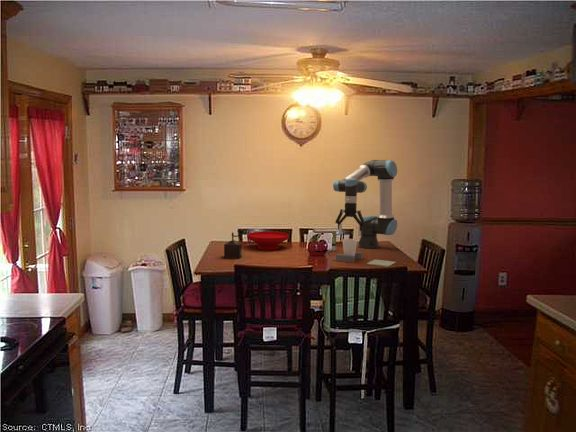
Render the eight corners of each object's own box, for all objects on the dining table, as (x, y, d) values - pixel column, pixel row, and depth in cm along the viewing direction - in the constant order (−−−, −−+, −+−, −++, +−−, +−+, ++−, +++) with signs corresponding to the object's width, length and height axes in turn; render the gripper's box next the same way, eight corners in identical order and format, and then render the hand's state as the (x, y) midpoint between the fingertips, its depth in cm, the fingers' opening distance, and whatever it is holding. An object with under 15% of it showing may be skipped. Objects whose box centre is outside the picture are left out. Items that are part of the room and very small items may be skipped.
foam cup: (355, 258, 347) (356, 238, 345) (357, 261, 337) (358, 241, 336) (341, 258, 346) (341, 238, 345) (343, 261, 337) (343, 241, 336)
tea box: (316, 251, 369) (316, 231, 367) (311, 249, 379) (312, 229, 377) (336, 250, 373) (336, 230, 371) (331, 248, 383) (331, 228, 381)
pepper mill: (240, 259, 341) (240, 231, 339) (223, 258, 342) (223, 231, 340) (244, 254, 356) (244, 228, 354) (227, 254, 357) (227, 228, 355)
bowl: (249, 244, 398) (249, 231, 397) (289, 244, 397) (289, 231, 396) (244, 251, 368) (244, 237, 367) (288, 252, 367) (288, 238, 366)
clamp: (343, 256, 353) (343, 250, 352) (362, 258, 346) (362, 252, 345) (333, 260, 339) (333, 254, 339) (352, 262, 332) (353, 256, 332)
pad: (375, 260, 340) (375, 259, 340) (395, 262, 333) (395, 261, 333) (366, 264, 328) (366, 263, 328) (388, 266, 321) (388, 265, 321)
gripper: (330, 201, 341) (329, 234, 343) (366, 204, 328) (365, 237, 330) (335, 201, 347) (334, 232, 349) (371, 203, 334) (370, 236, 337)
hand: (349, 235), depth 340 cm, fingers open, 13 cm apart
